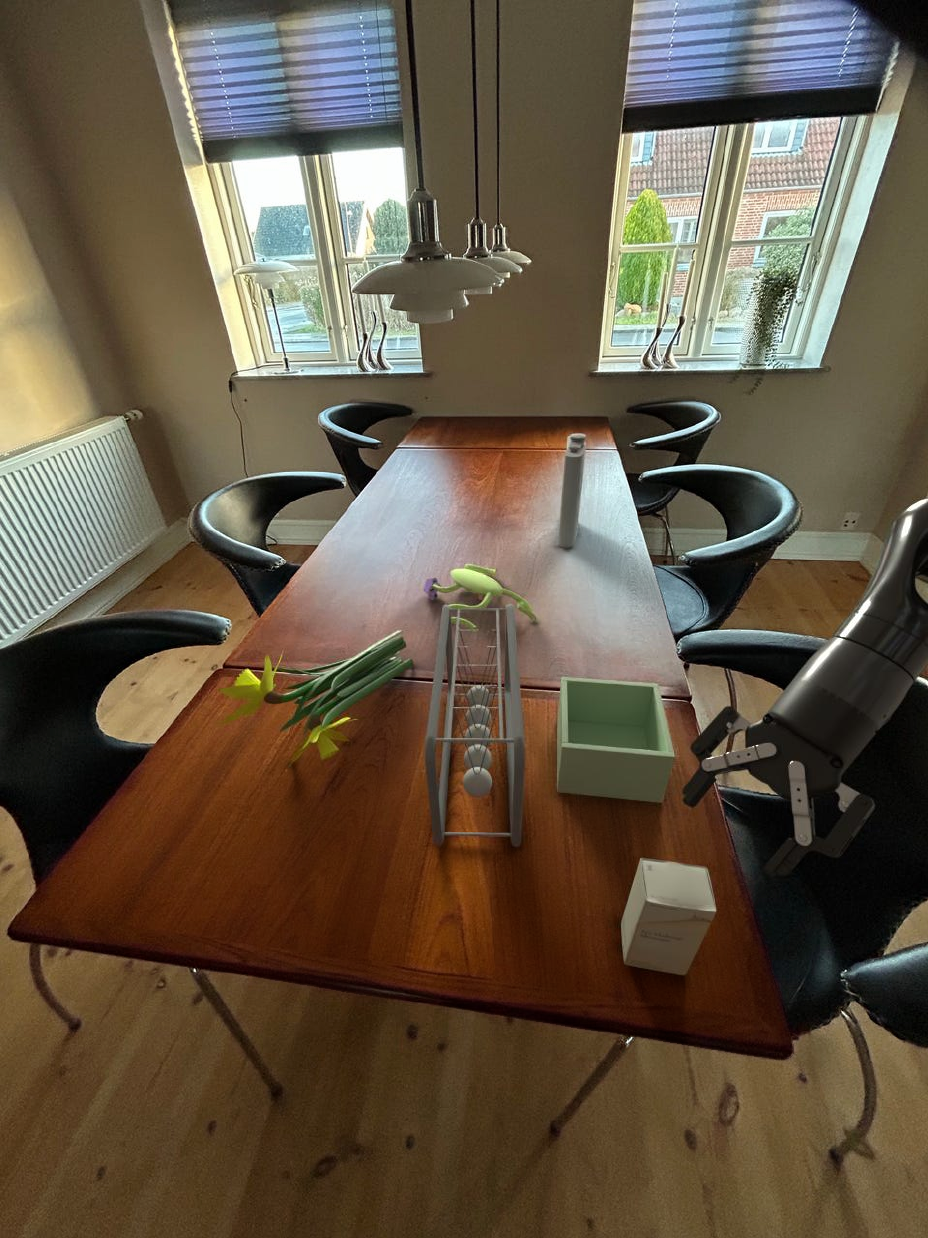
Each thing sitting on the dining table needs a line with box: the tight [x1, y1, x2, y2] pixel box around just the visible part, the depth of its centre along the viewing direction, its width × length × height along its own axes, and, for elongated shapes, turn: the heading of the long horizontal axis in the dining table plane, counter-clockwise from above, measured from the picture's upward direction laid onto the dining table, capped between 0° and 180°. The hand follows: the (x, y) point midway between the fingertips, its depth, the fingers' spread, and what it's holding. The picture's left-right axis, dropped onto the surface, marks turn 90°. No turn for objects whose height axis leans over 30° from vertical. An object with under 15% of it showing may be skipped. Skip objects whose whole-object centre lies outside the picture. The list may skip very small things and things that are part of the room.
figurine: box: [423, 563, 537, 633], centre depth 109 cm, size 18×27×6 cm
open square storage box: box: [556, 676, 676, 804], centre depth 73 cm, size 14×14×9 cm
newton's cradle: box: [424, 603, 526, 848], centre depth 71 cm, size 30×10×18 cm, turn 178°
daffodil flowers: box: [216, 629, 415, 772], centre depth 80 cm, size 17×15×35 cm
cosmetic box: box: [620, 857, 717, 976], centre depth 51 cm, size 6×4×12 cm
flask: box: [556, 433, 587, 548], centre depth 131 cm, size 17×5×25 cm, turn 168°
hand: (725, 837), depth 50 cm, fingers open, 8 cm apart
